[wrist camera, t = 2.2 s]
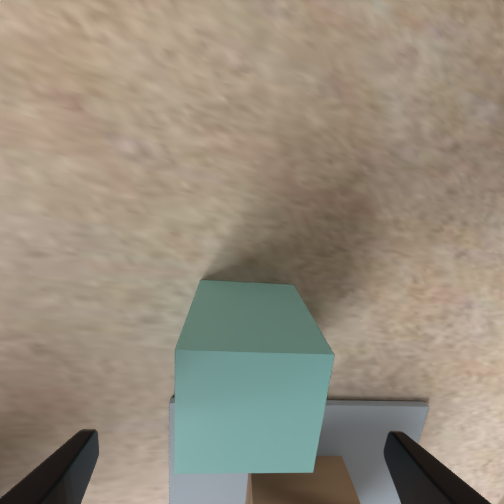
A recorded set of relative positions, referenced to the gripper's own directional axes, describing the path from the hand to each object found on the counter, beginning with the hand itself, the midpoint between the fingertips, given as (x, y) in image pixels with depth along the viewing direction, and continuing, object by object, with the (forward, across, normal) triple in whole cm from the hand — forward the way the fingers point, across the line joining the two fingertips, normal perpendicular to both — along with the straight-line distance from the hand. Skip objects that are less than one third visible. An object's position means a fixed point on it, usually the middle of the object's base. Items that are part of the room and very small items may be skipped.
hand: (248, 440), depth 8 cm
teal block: (+7, 0, 0) cm, 7 cm away
